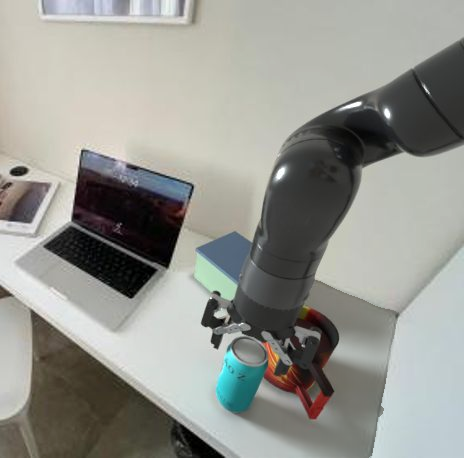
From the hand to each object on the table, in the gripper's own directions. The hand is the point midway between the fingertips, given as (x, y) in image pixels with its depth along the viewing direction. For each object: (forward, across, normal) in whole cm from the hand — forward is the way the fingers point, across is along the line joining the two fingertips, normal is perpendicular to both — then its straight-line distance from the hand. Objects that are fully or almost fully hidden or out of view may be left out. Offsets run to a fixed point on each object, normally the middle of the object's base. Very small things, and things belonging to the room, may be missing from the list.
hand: (246, 357), depth 55 cm
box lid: (+5, +7, -27) cm, 29 cm away
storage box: (+13, +7, -27) cm, 31 cm away
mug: (+13, -8, -10) cm, 18 cm away
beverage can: (+13, 0, 0) cm, 13 cm away
